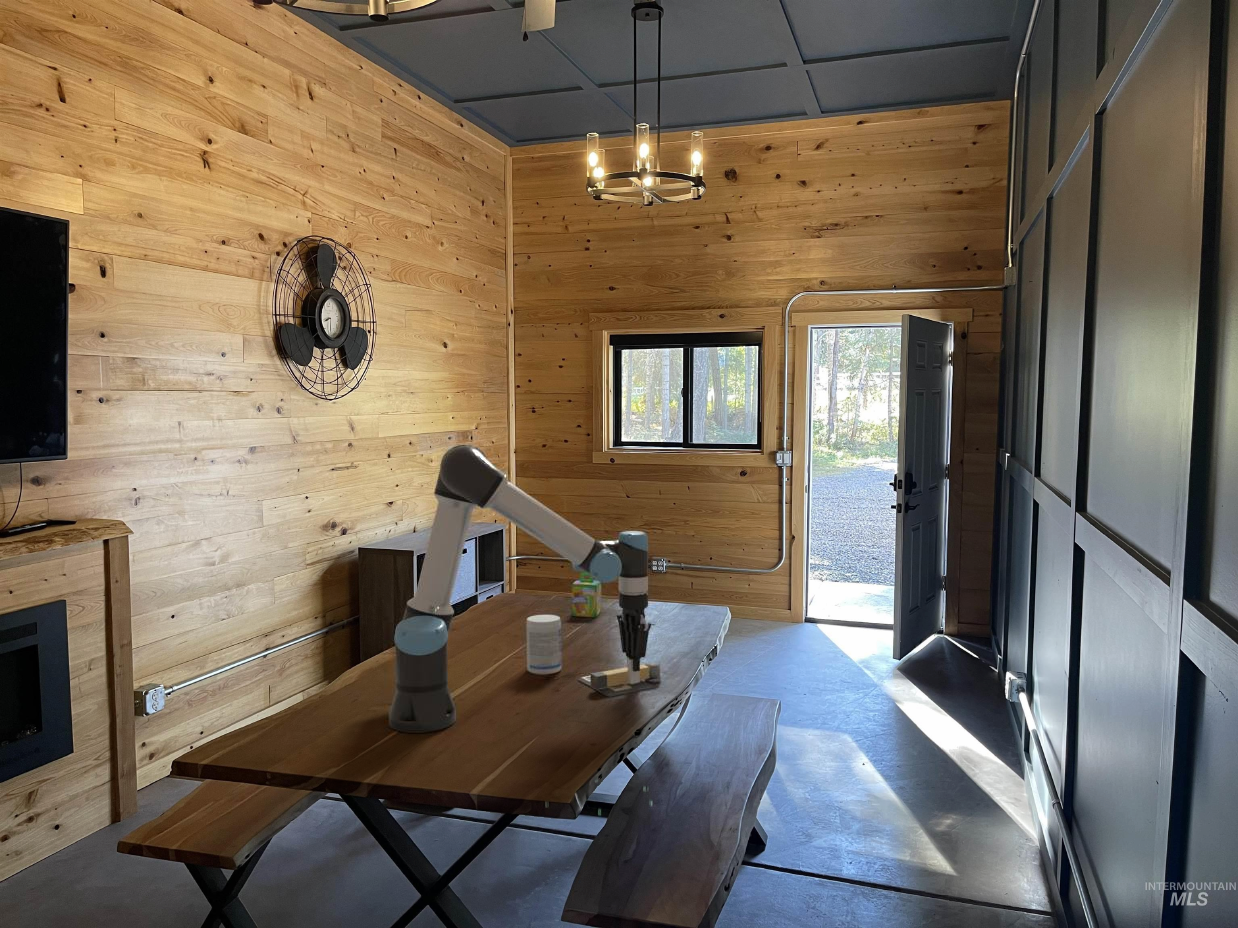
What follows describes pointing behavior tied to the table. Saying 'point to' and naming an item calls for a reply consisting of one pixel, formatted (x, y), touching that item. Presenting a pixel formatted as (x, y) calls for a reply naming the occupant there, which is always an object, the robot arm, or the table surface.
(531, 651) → the supplement tub
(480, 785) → the table surface
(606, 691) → the mat
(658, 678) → the pivot post
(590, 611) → the chalk box
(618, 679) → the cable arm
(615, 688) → the label
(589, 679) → the label
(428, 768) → the table surface
